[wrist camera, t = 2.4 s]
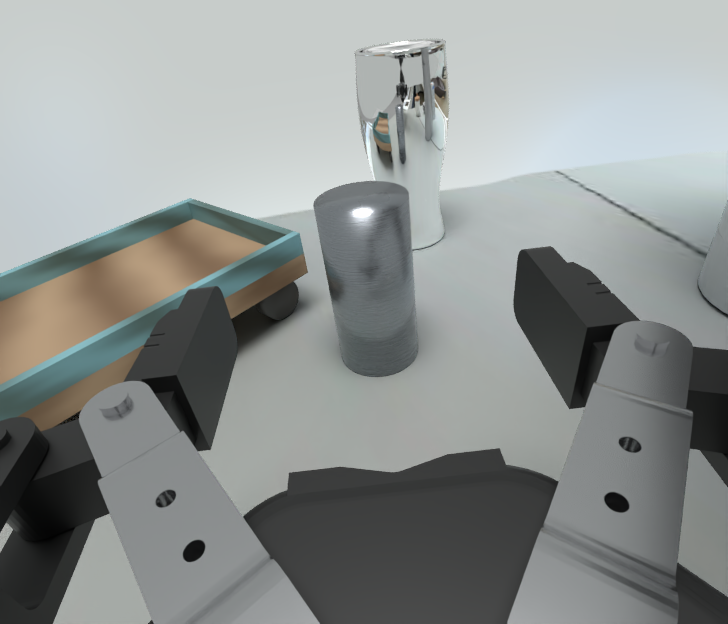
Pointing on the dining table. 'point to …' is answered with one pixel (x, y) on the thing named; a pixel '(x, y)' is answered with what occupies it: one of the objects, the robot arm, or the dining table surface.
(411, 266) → the metal part
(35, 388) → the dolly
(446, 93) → the beer glass
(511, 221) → the dining table surface
